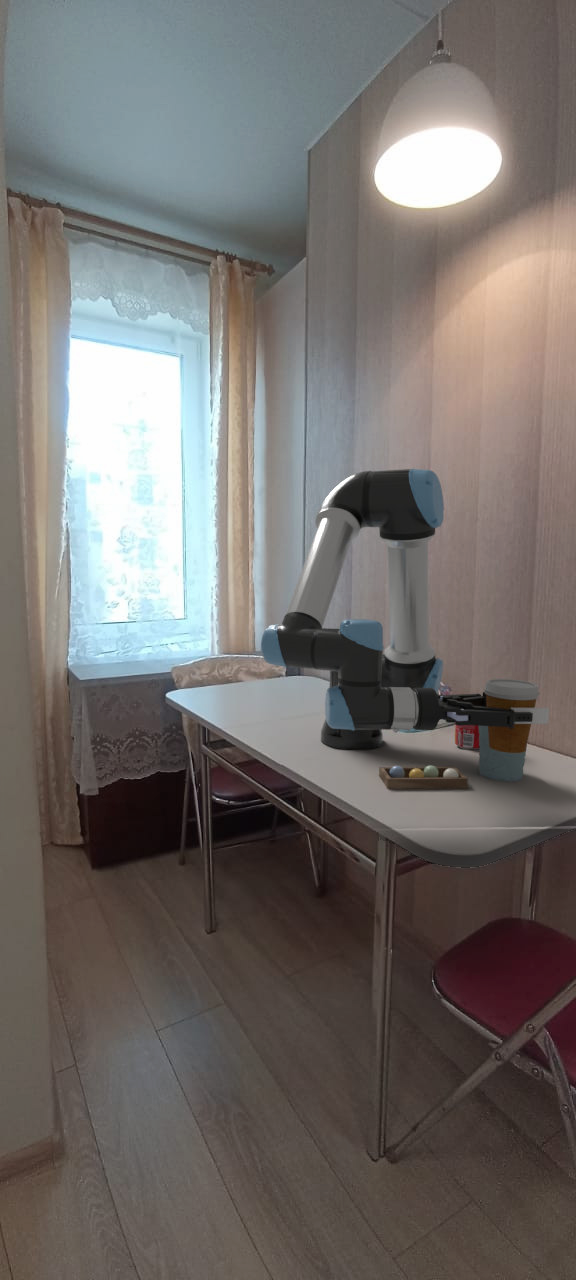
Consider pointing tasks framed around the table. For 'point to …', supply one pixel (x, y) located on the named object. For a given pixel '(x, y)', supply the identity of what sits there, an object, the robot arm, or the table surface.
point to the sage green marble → (431, 772)
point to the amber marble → (416, 773)
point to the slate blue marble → (397, 772)
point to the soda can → (467, 737)
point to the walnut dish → (422, 779)
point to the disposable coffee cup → (505, 697)
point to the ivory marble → (450, 773)
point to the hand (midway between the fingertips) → (534, 709)
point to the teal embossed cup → (499, 761)
